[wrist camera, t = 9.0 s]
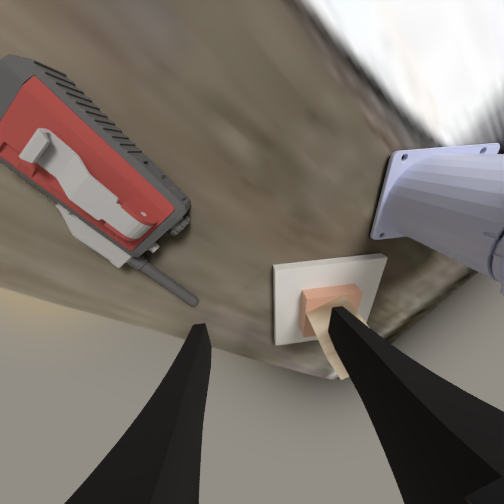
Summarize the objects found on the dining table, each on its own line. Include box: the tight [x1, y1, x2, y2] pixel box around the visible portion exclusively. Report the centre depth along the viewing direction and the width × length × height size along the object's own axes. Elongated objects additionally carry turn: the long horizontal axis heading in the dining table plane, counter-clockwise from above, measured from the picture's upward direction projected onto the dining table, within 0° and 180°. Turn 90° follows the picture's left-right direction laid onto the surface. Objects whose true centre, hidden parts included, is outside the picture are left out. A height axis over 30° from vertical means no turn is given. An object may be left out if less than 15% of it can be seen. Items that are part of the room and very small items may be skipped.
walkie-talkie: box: [0, 54, 198, 306], centre depth 15 cm, size 9×4×20 cm
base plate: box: [273, 253, 388, 345], centre depth 22 cm, size 12×12×2 cm
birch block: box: [306, 295, 370, 380], centre depth 19 cm, size 4×4×5 cm
